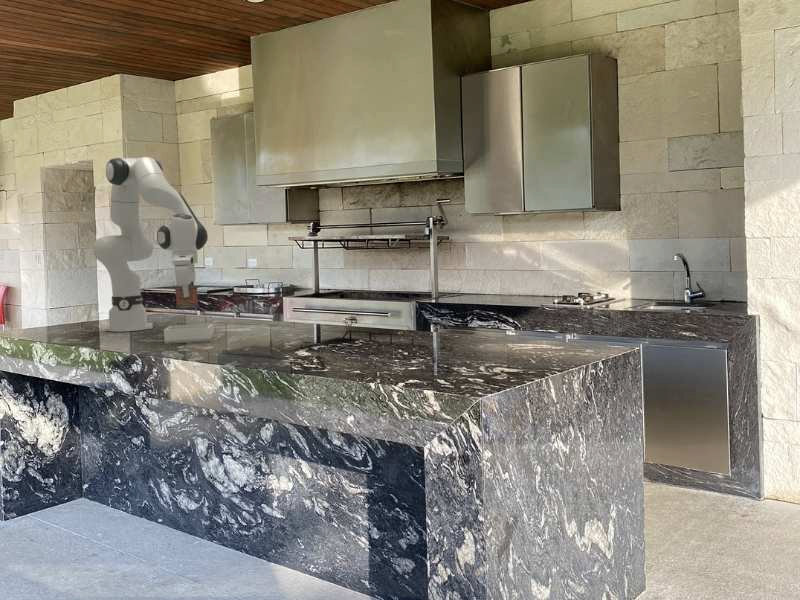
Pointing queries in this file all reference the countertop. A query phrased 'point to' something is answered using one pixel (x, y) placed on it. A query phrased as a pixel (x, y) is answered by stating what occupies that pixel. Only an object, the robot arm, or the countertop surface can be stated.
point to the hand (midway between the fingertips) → (187, 296)
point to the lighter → (187, 301)
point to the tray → (189, 333)
